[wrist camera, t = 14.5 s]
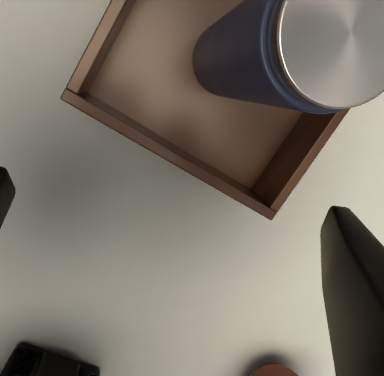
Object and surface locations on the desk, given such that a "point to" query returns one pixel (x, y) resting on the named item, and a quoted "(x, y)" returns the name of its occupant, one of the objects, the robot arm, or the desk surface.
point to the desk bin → (192, 104)
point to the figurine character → (273, 371)
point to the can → (295, 54)
